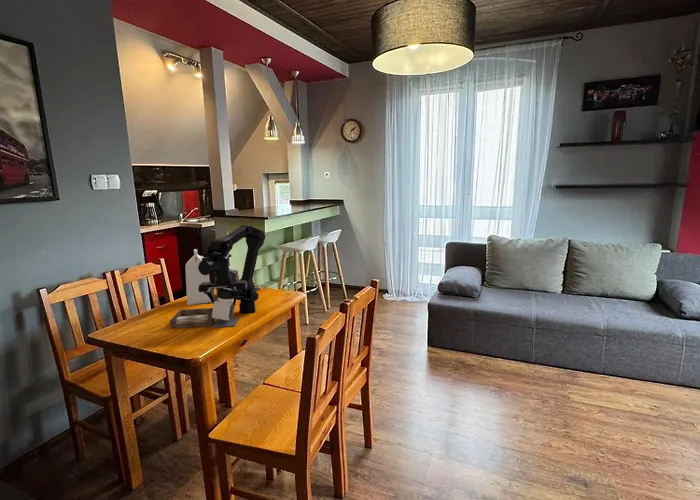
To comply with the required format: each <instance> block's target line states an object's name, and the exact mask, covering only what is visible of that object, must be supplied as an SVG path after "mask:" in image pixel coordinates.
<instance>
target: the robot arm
mask: <svg viewBox="0 0 700 500" xmlns="http://www.w3.org/2000/svg"><path fill="white" fill-rule="evenodd" d="M242 239H245V242H246V243H245V244H246V246H247V251H246V256H245V259H244V264H243V269H242V275H241V277H240V278H239V281H236V283H230V282H232V274H230V271H229V266H230V263H229V258H232V254H230V252H231V251H232V250H233V246H234V245H235V244H236V243H238V242H239V241H241V240H242ZM265 240H266V234H265V232H264V231H263V230H261V229H259V228H256V227H253V226H252V225H250V224H241V225H239V227H237V228H236V229H234V230H232V232H230V233H228V234H226V235H225V236H221V237H218V238H215V239H212V240H211V241H210V243H209V246H208V248H207V251H206V253H205V257H204V256H203V257H204V258H202V261H201V262H200V263H199V266H198V269H199V272H200V273H201V274H202V275H208V274H209V275H210V274H214V281H215V280H216V281H215V283H212V282H211V281H210V282H202V283H201V284H200V285H199V287H198V290H199V292H204V294H207V296H208V297H209V298H210V300H211V301H212V302H211V303H212V305H213V304H214V301H216V296H215V290H216V288H234V291H233V304H234V305H235V306H236V303H237V301H240V302H239V304H238V305H239V306H238V307H239V314H241V315H245V314H248V315H249V314H255V313H256V311H257V308H256V302H257V301H258V300H259V295H260V294H259V293H258V291H255V288H256V287H255V285H256V284H255V282H254V278H253V277H254V275H255V270H256V265H257V260H258V255H259V250H260V249H261V248H262V247H263V246H264V243H265ZM254 284H255V285H254Z"/></svg>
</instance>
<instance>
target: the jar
mask: <svg viewBox="0 0 700 500" xmlns="http://www.w3.org/2000/svg"><path fill="white" fill-rule="evenodd" d="M229 271H230V274H232V282H230V283H236V281H239V280H240V273H239V270H238V269H236V267H235V266H234V265H229ZM214 281H215V282H216V280H215V279H214ZM220 289H222V288H216V289H215V293H216V297H217V298H218V292H219V290H220ZM228 289H231V290H233V291H234V288H228Z"/></svg>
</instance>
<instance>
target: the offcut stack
mask: <svg viewBox="0 0 700 500" xmlns="http://www.w3.org/2000/svg"><path fill="white" fill-rule="evenodd" d="M208 318H209V316H208V315H196V316H183V317H178V318H177V321H176V324H183V323H200V322H208Z"/></svg>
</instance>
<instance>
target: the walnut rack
mask: <svg viewBox="0 0 700 500" xmlns="http://www.w3.org/2000/svg"><path fill="white" fill-rule="evenodd" d="M212 312H213V307H208V308H207V307H202V308H201V307H200V308H187V309H186V308H185V309H183V308H182V309H179V310H178V311H177V312H176V313H175V314H174V315H173V316H172V318H171V319H170V320H169V322H170V329H185V328H199V327H201V328H202V327H211V326H212V327H213V325H214V323H215V321H216V319H215V318H212ZM196 315H208V319H207V320H208V322H200V323H183V324H176V321H177V318H178V317H183V316H196Z"/></svg>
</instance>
